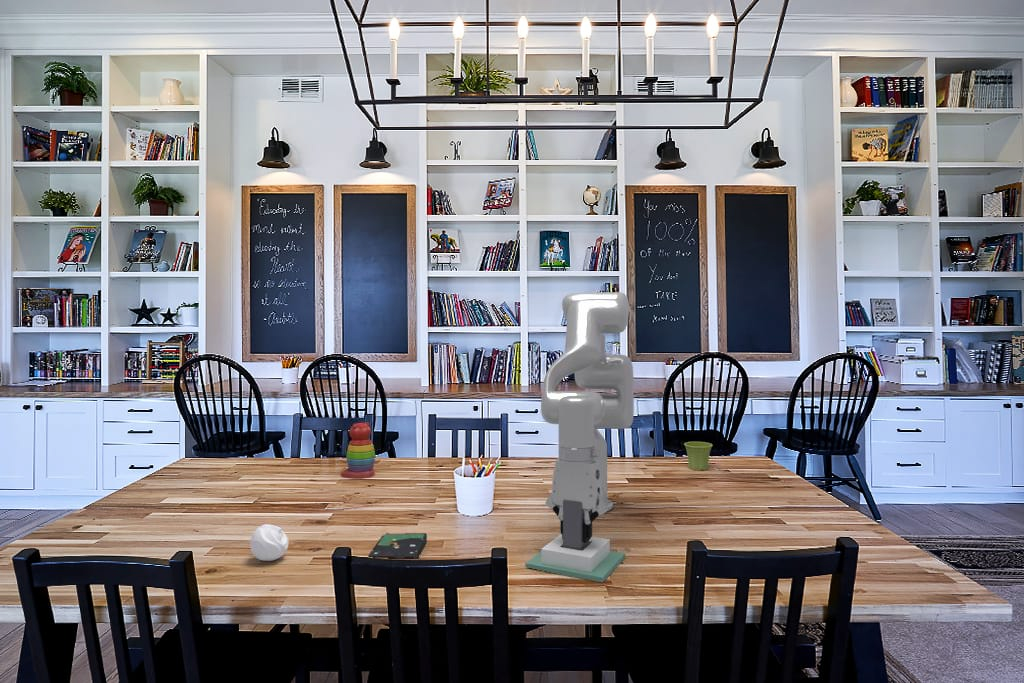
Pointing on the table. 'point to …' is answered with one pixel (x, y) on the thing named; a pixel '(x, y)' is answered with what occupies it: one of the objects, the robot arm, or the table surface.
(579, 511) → the plug
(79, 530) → the table surface
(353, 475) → the stacking bear
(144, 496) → the table surface
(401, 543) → the disk drive
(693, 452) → the plant pot
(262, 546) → the crumpled white paper ball
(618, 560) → the board
